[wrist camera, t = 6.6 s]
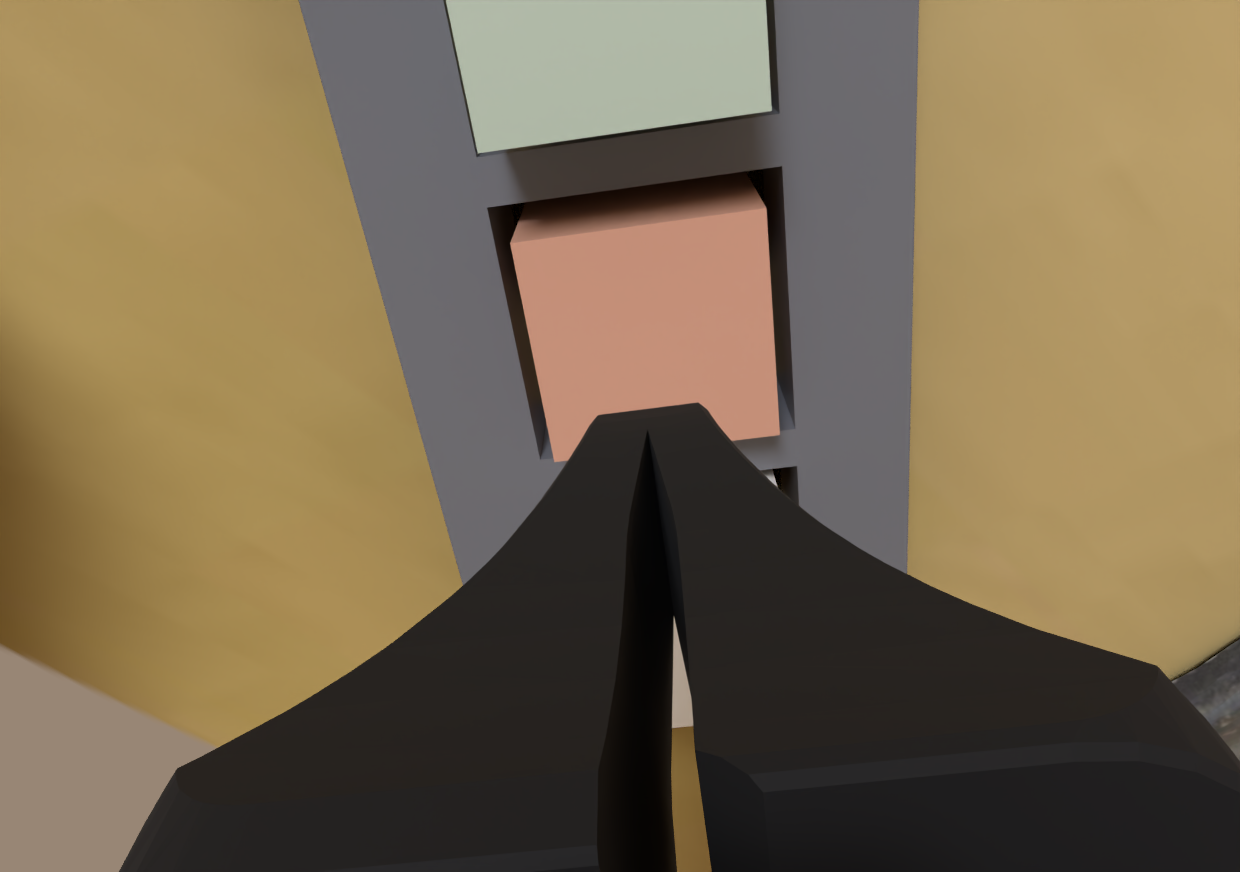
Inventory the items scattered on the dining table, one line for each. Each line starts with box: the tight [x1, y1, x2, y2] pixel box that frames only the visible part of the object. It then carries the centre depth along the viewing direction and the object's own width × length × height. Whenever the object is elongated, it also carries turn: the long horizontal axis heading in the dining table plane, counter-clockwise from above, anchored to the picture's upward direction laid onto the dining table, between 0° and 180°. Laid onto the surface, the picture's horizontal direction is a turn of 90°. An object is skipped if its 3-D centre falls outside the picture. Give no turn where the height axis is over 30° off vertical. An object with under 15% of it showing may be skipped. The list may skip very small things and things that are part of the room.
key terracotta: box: [510, 171, 780, 462], centre depth 16 cm, size 4×4×3 cm
